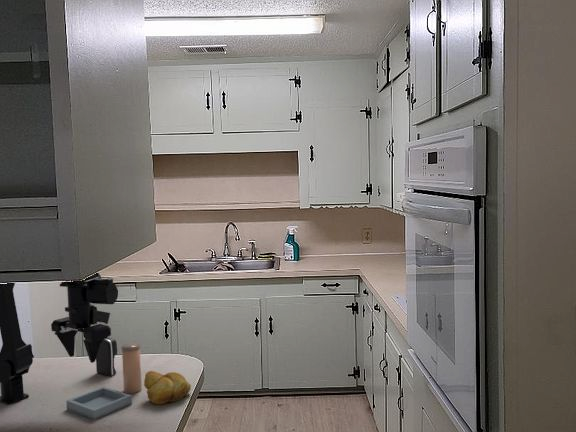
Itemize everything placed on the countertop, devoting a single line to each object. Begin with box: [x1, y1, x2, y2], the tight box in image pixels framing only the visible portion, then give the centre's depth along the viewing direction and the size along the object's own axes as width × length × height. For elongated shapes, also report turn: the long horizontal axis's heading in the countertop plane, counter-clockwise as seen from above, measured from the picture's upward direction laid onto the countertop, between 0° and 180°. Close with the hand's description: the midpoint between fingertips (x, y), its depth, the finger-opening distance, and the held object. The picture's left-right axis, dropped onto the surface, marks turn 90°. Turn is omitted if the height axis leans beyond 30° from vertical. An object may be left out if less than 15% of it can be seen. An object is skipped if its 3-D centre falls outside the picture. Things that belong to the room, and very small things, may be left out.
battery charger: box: [95, 337, 118, 377], centre depth 184 cm, size 7×4×11 cm, turn 58°
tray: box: [66, 386, 133, 421], centre depth 159 cm, size 12×12×2 cm
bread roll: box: [143, 370, 192, 405], centre depth 163 cm, size 13×10×8 cm
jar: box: [121, 342, 143, 394], centre depth 170 cm, size 5×5×13 cm
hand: (82, 359), depth 158 cm, fingers open, 9 cm apart
